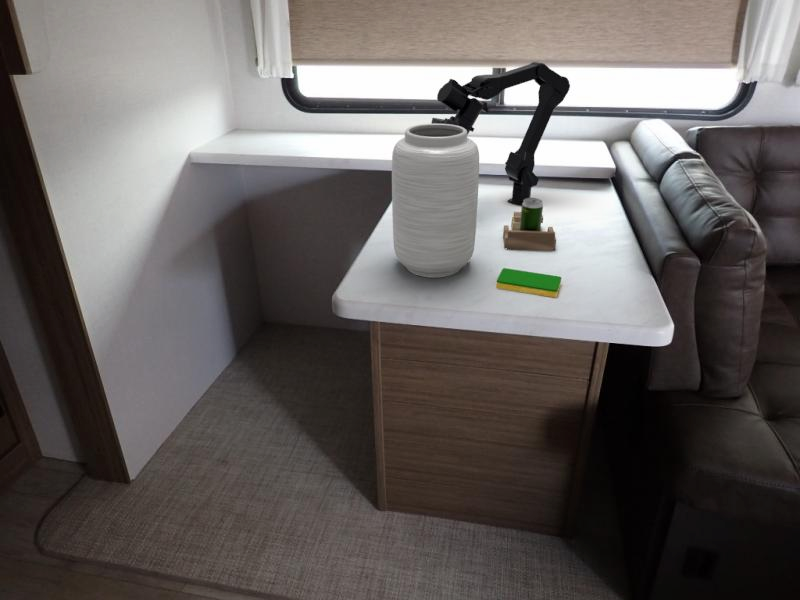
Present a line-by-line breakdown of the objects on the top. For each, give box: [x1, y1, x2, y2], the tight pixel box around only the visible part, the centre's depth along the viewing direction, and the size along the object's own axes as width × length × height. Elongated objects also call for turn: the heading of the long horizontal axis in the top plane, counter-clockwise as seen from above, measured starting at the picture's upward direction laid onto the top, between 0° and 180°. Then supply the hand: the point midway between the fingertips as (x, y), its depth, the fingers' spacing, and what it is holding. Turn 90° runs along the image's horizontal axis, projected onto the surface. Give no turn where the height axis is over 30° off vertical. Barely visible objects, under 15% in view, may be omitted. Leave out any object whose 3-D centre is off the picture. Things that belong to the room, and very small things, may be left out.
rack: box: [502, 224, 557, 252], centre depth 155 cm, size 10×13×5 cm
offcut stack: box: [510, 211, 544, 231], centre depth 163 cm, size 5×8×4 cm, turn 83°
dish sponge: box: [495, 267, 562, 298], centre depth 134 cm, size 7×14×2 cm, turn 69°
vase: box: [391, 123, 480, 279], centre depth 136 cm, size 20×20×34 cm
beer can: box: [520, 197, 544, 231], centre depth 153 cm, size 5×5×12 cm
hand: (437, 168), depth 167 cm, fingers open, 9 cm apart
